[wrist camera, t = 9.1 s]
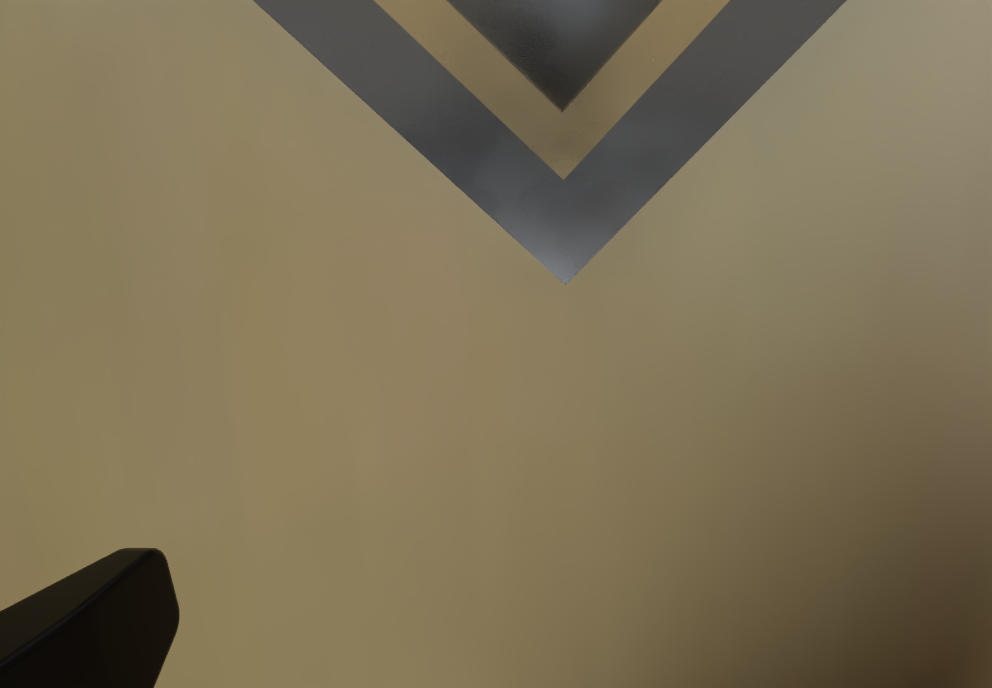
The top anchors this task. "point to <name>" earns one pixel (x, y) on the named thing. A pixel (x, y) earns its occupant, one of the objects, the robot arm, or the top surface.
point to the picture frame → (554, 94)
